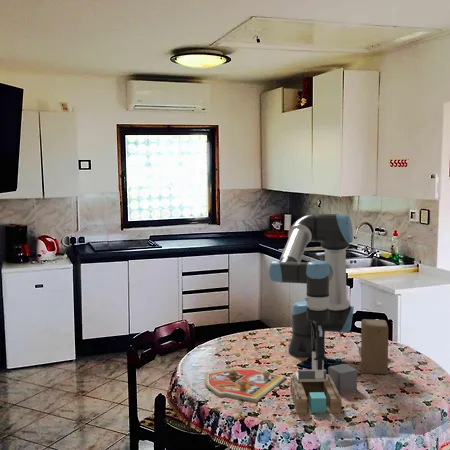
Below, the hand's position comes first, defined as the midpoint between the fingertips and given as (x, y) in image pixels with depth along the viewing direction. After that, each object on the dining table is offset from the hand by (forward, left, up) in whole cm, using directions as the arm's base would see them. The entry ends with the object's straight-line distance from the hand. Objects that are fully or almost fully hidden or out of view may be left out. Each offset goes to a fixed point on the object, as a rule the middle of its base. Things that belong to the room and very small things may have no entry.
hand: (317, 373), depth 187 cm
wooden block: (-21, +42, -13) cm, 49 cm away
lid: (-14, +6, -7) cm, 17 cm away
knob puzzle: (-34, -13, -14) cm, 39 cm away
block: (0, 0, -12) cm, 12 cm away
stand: (-11, +19, -13) cm, 25 cm away
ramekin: (-34, +51, -13) cm, 63 cm away
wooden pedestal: (-5, +3, -13) cm, 14 cm away
